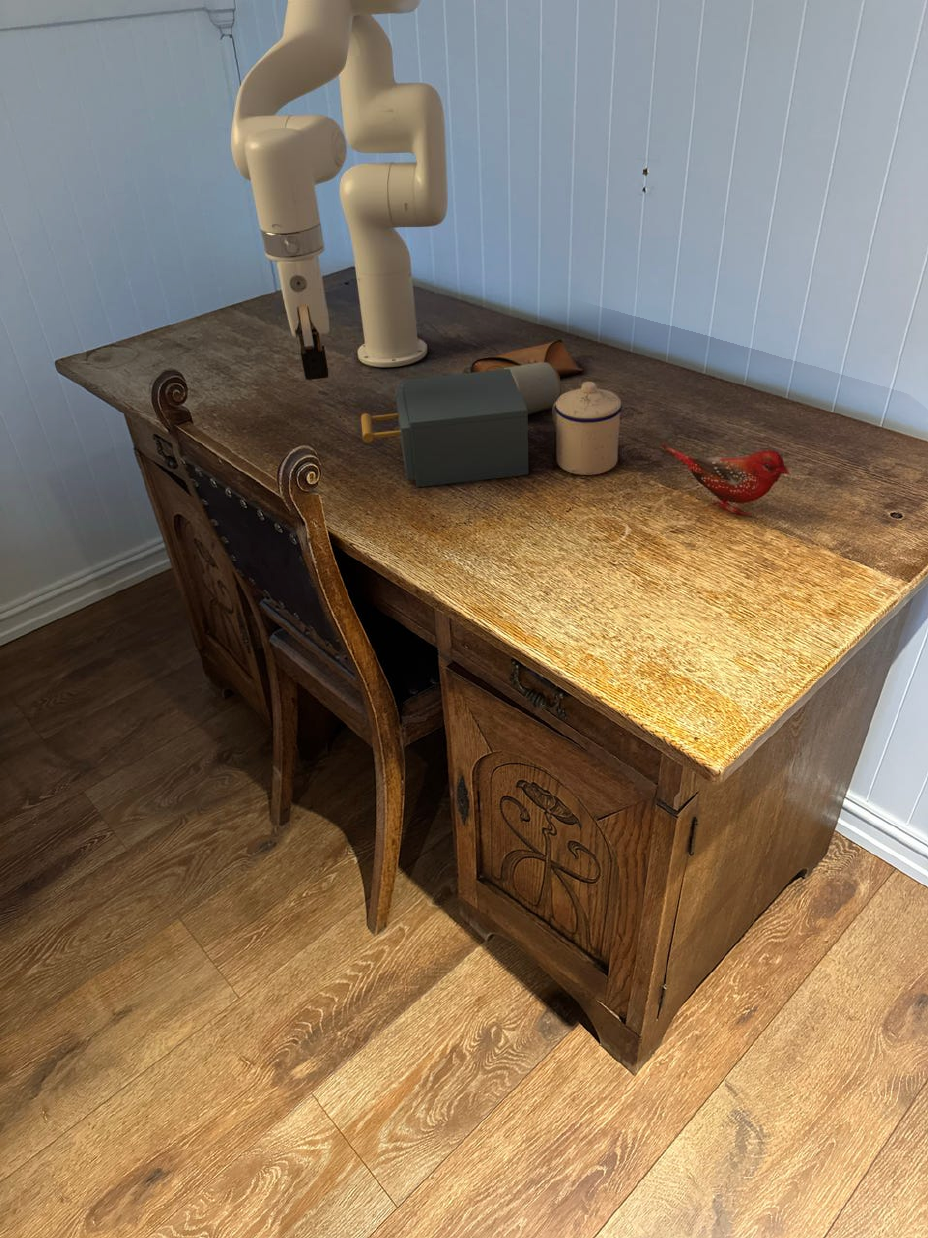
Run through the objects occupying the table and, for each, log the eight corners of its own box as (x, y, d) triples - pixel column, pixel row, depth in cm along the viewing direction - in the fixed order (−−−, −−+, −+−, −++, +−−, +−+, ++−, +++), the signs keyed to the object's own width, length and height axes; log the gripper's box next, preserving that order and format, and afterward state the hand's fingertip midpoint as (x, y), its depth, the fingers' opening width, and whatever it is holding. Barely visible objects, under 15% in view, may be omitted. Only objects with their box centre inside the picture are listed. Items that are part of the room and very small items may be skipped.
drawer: (368, 484, 125) (361, 432, 120) (364, 442, 135) (357, 392, 130) (510, 468, 126) (509, 416, 121) (496, 427, 136) (494, 377, 131)
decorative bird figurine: (773, 534, 111) (786, 461, 105) (651, 490, 121) (657, 421, 115) (784, 524, 113) (798, 452, 106) (663, 481, 123) (669, 413, 116)
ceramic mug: (564, 412, 141) (564, 364, 136) (520, 425, 138) (519, 377, 133) (528, 390, 148) (527, 344, 144) (485, 403, 146) (483, 357, 141)
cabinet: (416, 487, 125) (409, 422, 119) (408, 441, 136) (402, 379, 130) (528, 474, 126) (527, 409, 120) (511, 429, 137) (509, 368, 131)
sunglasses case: (493, 395, 146) (482, 354, 145) (477, 402, 153) (466, 363, 152) (587, 370, 152) (577, 330, 151) (568, 378, 159) (558, 340, 157)
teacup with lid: (632, 463, 127) (637, 385, 120) (582, 483, 123) (584, 404, 116) (578, 433, 135) (579, 358, 128) (529, 452, 131) (528, 376, 124)
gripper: (323, 255, 108) (345, 396, 120) (321, 220, 120) (342, 352, 132) (261, 262, 108) (289, 403, 120) (265, 226, 119) (290, 358, 131)
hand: (317, 376), depth 126 cm, fingers closed
